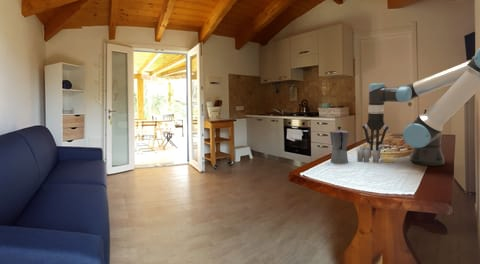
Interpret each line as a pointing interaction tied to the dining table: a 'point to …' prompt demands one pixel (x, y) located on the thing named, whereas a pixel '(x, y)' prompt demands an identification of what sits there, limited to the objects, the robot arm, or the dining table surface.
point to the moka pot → (339, 146)
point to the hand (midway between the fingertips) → (374, 156)
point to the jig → (368, 155)
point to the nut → (387, 159)
